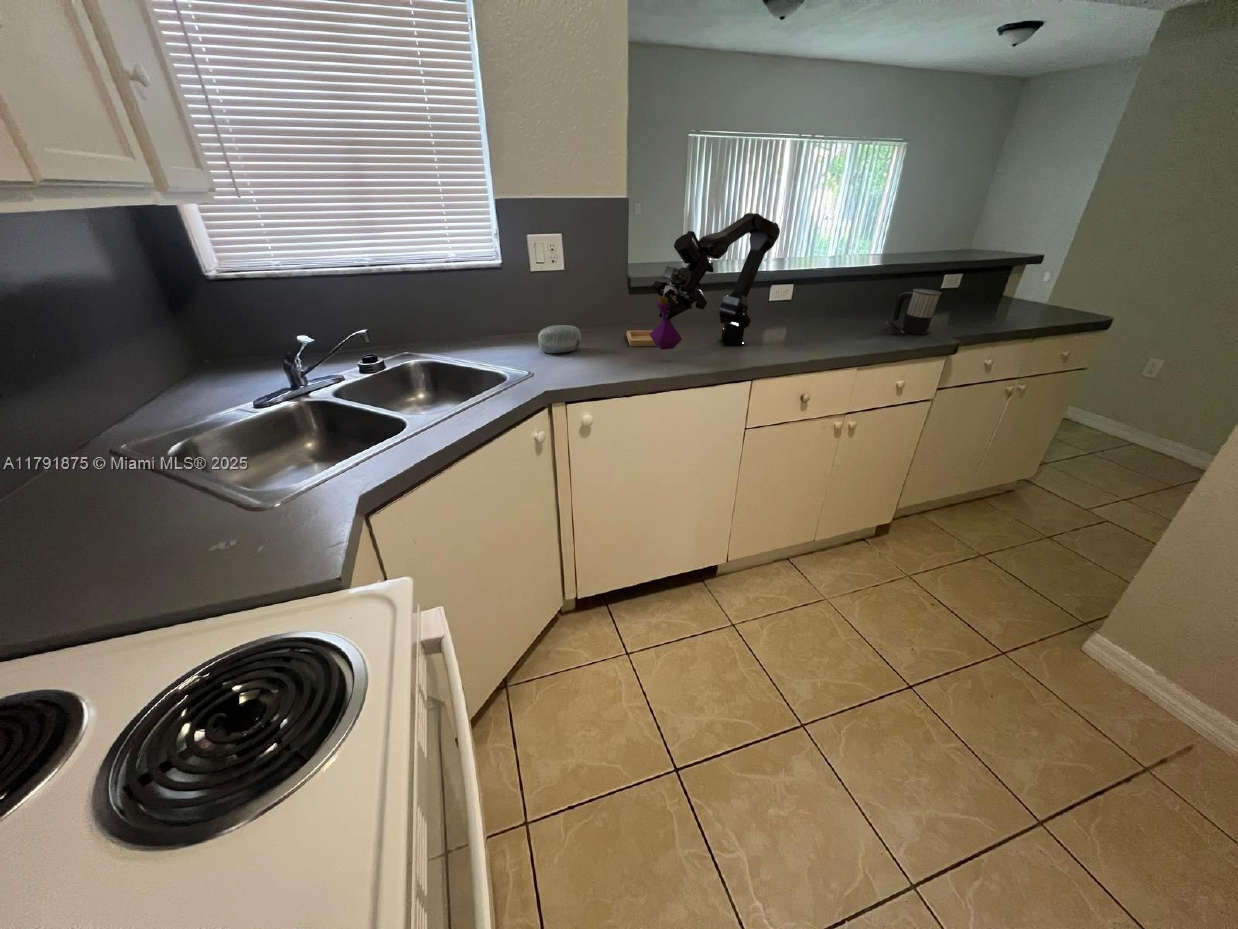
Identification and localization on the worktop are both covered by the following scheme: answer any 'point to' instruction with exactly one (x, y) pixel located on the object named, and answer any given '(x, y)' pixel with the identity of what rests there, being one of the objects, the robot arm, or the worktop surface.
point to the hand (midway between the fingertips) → (662, 317)
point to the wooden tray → (640, 338)
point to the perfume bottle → (665, 326)
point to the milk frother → (915, 311)
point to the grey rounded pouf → (559, 339)
